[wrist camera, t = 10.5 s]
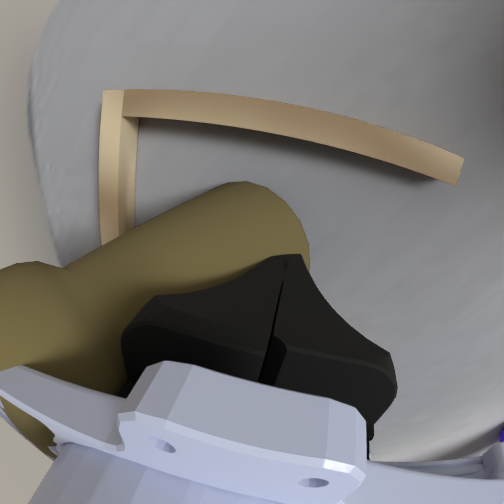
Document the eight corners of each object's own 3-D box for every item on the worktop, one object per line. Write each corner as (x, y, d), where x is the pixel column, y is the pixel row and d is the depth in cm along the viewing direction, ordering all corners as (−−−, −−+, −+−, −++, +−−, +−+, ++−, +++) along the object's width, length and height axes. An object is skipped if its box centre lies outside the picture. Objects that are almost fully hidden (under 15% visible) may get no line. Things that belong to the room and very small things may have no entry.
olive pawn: (278, 335, 14) (90, 509, 5) (184, 268, 16) (-7, 370, 7) (335, 224, 10) (7, 460, 2) (209, 159, 13) (-65, 228, 4)
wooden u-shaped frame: (362, 364, 16) (363, 383, 15) (122, 299, 18) (109, 313, 16) (449, 152, 10) (464, 158, 9) (122, 90, 12) (103, 90, 11)
